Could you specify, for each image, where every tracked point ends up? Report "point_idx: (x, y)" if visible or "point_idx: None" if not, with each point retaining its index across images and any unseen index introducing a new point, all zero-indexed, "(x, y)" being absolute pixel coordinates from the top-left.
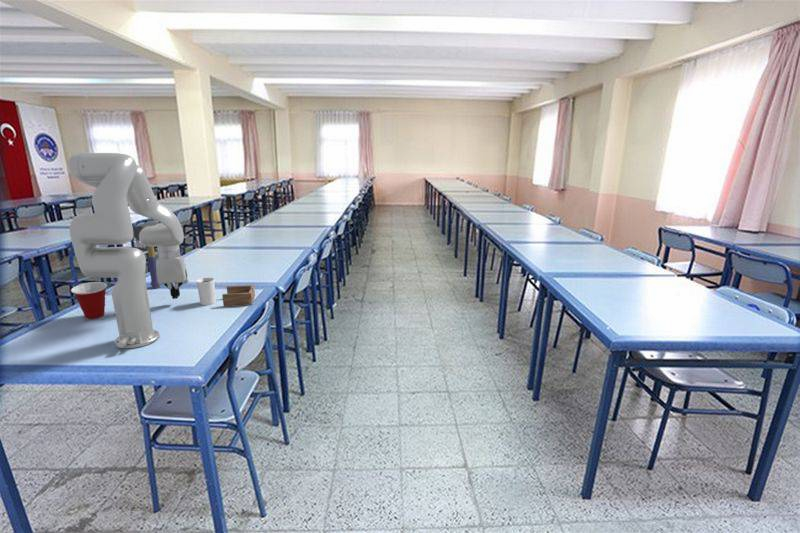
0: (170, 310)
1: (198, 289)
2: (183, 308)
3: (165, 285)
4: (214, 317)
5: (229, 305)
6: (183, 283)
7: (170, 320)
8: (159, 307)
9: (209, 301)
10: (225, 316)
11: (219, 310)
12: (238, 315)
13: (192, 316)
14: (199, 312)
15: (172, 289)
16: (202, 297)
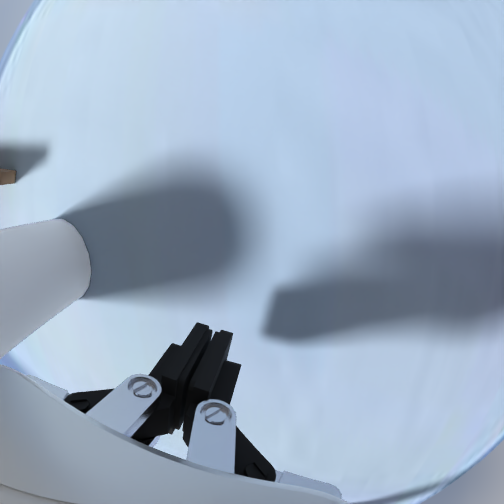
0: (263, 206)
1: (7, 277)
2: (173, 213)
3: (263, 462)
4: (61, 34)
5: (2, 169)
6: (56, 393)
7: (254, 10)
8: (340, 312)
9: (37, 222)
10: (34, 46)
11: (30, 117)
12: (11, 58)
13: (130, 45)
14: (92, 102)
15: (195, 393)
16: (36, 235)
